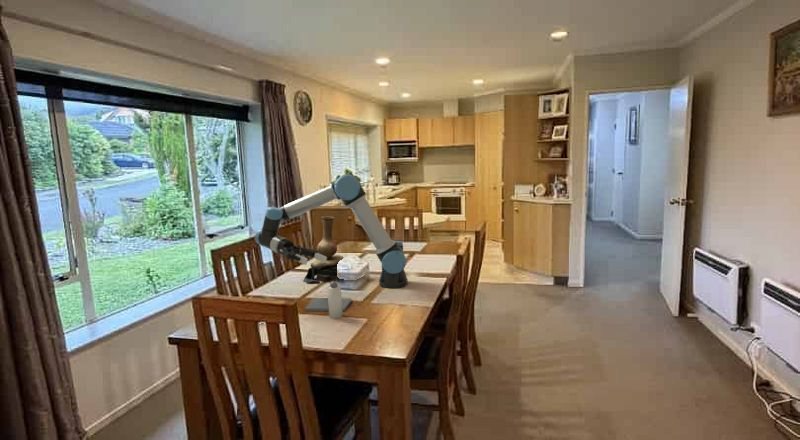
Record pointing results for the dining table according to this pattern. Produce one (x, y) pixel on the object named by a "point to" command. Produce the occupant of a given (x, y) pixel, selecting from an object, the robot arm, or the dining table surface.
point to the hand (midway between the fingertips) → (316, 260)
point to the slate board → (325, 304)
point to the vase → (328, 250)
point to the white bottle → (334, 300)
